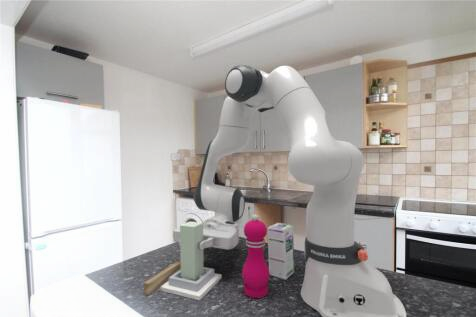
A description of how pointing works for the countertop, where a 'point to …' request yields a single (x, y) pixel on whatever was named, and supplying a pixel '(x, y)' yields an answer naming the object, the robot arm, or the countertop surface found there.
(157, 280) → the oak board
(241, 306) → the countertop surface
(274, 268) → the syrup box
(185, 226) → the sage bar
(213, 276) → the grey keeper socket
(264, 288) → the pepper mill
